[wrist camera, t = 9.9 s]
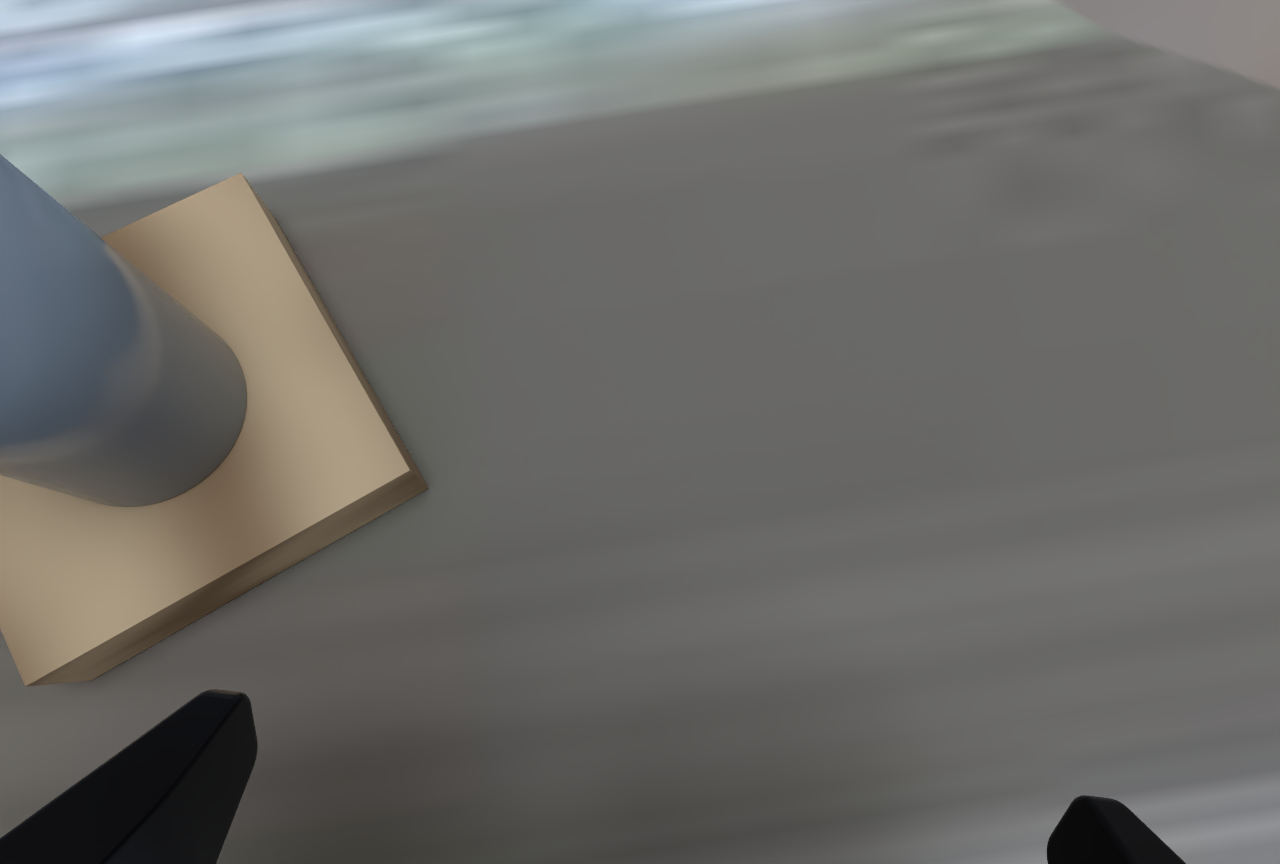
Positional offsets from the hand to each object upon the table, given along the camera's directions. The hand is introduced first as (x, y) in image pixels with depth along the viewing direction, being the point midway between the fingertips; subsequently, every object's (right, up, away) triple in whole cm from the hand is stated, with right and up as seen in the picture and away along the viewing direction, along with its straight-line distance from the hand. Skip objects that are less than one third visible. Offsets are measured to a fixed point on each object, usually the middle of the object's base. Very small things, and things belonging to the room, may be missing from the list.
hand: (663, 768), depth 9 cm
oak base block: (-13, +4, +14) cm, 20 cm away
